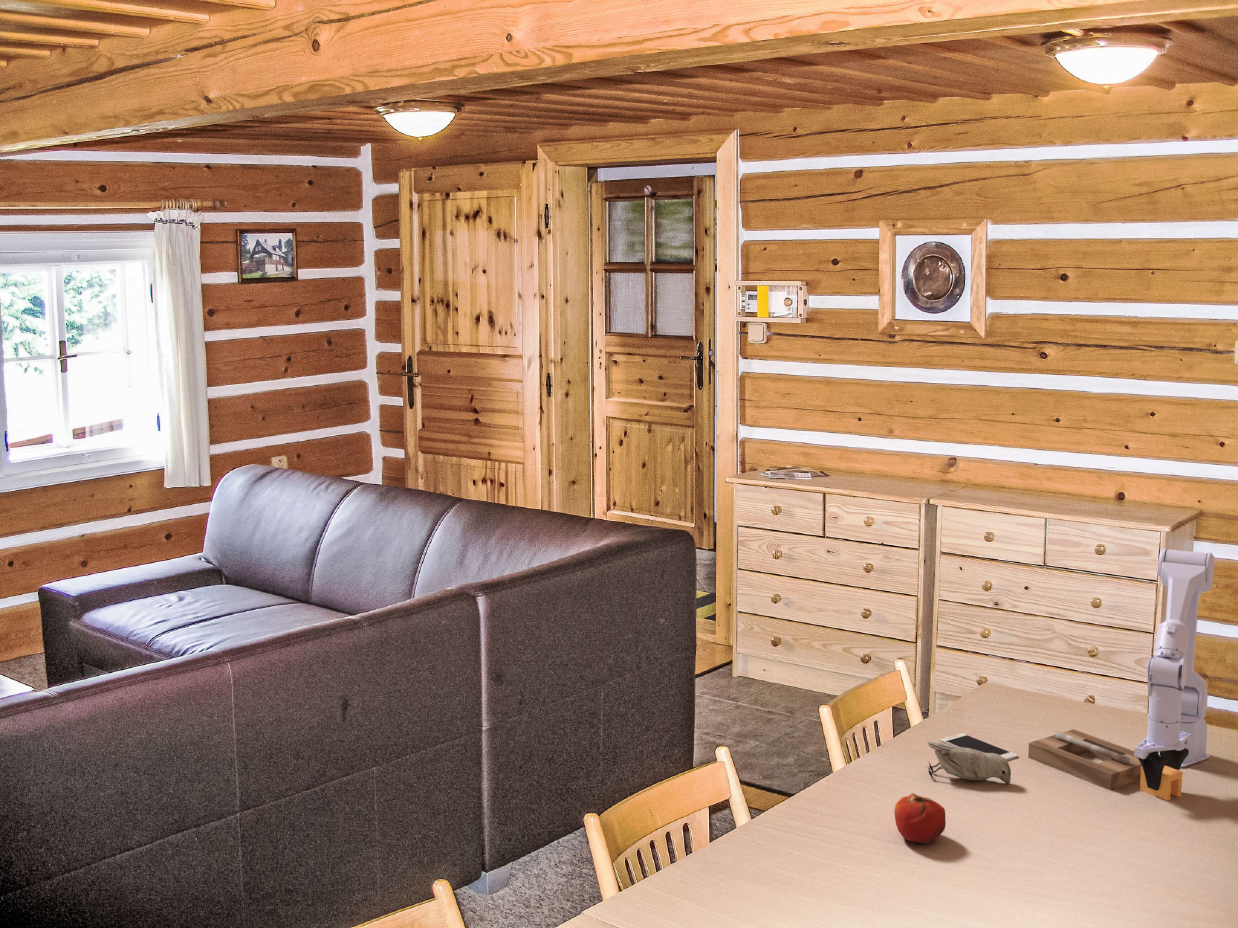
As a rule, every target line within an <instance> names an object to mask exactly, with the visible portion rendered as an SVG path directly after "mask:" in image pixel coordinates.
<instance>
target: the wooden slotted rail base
mask: <svg viewBox="0 0 1238 928" xmlns="http://www.w3.org/2000/svg"><path fill="white" fill-rule="evenodd" d="M1134 751H1135V750H1133V749H1131V748H1127V747H1124V746H1121V745H1119V744H1116V743H1113V742H1110V741H1108V740H1104V739H1103V738H1102V739H1101V738H1099V737H1096V736H1094V735H1090V734H1088V733H1085V732H1083V731H1080V730H1077V729H1074V728H1073V729H1070V730H1066V731H1064V732H1060V731H1056V733H1055V734H1054V735H1050V736H1047V737H1043V738H1039V739H1037V740H1033V741H1031V742H1028V758H1029V759H1032V760H1034V761H1036V762H1038V763H1041V764H1044V765H1047V766H1049V767H1052V768H1053V769H1056V770H1059V771H1061V772H1064V773H1066V774H1069V775H1071V776H1074V777H1075V778H1076V777H1077V778H1079V779H1082V780H1083V781H1086V782H1089V783H1091V784H1094V785H1096V786H1099V787H1101V788H1104V789H1107V790H1108V791H1112V790H1115V789H1118V788H1121V787H1124V786H1127V785H1129V784H1132V783H1135V782H1138V781H1140V779H1141V766H1142V765H1141V763H1140V761H1139V759H1138V757H1136V756H1134ZM1084 754H1085V755H1088V756H1091V757H1093V758H1096V759H1097V760H1098V759H1099V760H1102V762H1095V761H1092V760H1090V759H1087V758H1084V757H1082V756H1081V755H1084Z"/></svg>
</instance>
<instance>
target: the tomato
mask: <svg viewBox="0 0 1238 928" xmlns="http://www.w3.org/2000/svg"><path fill="white" fill-rule="evenodd" d="M894 806H895V807H894V811H893V813H894V820H895V826H896V828H897V831H898V832H899V834H900V835H901V836H902V837H903V839H905V840H908V841H910V842H915V843H921V844H927V843H930V842H933V841H934V840H936V839H937V838H939V837H940V836H941V835H942V834H943V832H945V829H946V822H947V821H946V810H945V808H944V807H943V806H942V804H940V803H938V802H937V801H935V800H934V799H932V798H930V797H925V796H921V795H917V794H915V793H913V792H912V793H910V794H909V795H906V796H902V797H901V798H900V799H899V800H898V801H897V802H896V803H895V805H894Z"/></svg>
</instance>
